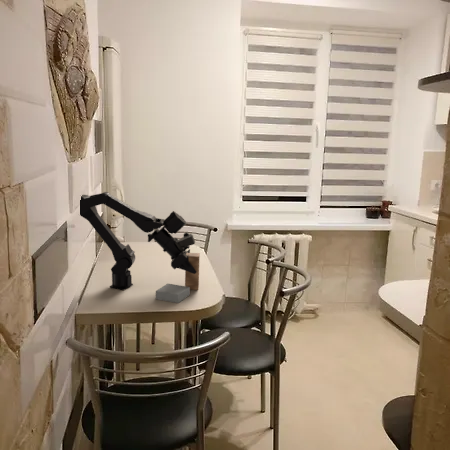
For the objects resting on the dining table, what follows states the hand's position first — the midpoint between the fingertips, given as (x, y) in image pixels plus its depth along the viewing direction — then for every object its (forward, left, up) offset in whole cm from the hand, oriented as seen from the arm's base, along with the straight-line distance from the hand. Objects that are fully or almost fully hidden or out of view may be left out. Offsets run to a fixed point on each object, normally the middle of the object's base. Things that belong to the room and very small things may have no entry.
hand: (196, 270), depth 170 cm
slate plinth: (-3, -13, -7) cm, 15 cm away
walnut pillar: (-1, -1, -7) cm, 7 cm away
